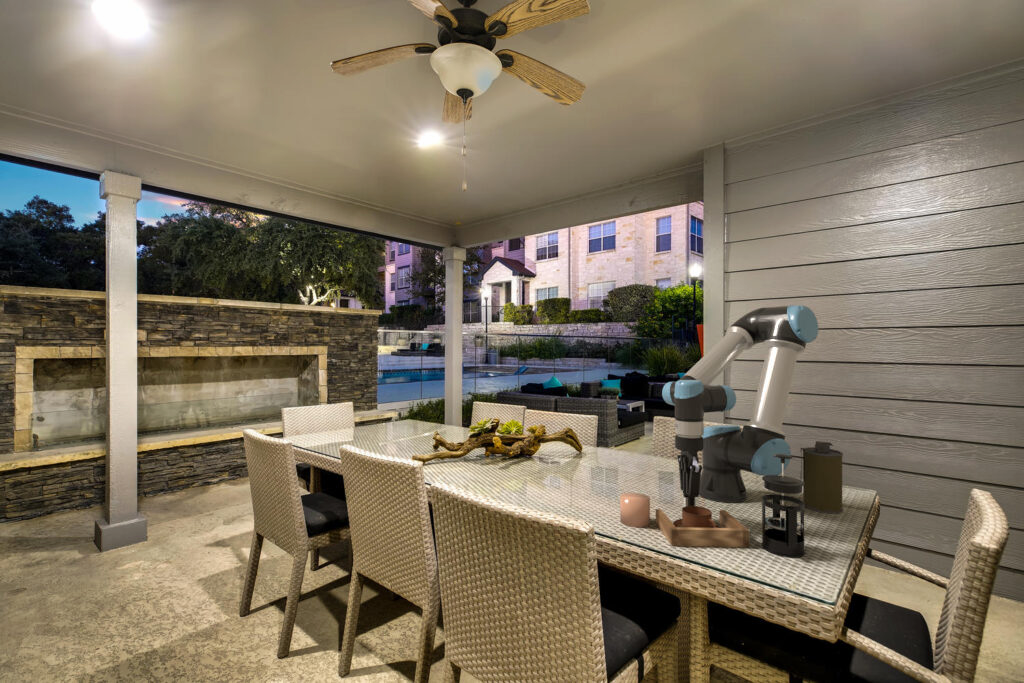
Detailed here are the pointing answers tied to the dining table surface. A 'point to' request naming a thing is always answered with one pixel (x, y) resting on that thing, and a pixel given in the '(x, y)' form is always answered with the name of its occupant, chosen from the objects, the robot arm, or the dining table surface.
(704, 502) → the dining table surface
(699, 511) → the cup and saucer
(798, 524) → the french press
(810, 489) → the canister
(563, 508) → the dining table surface
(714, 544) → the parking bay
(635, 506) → the peach rounded capsule
